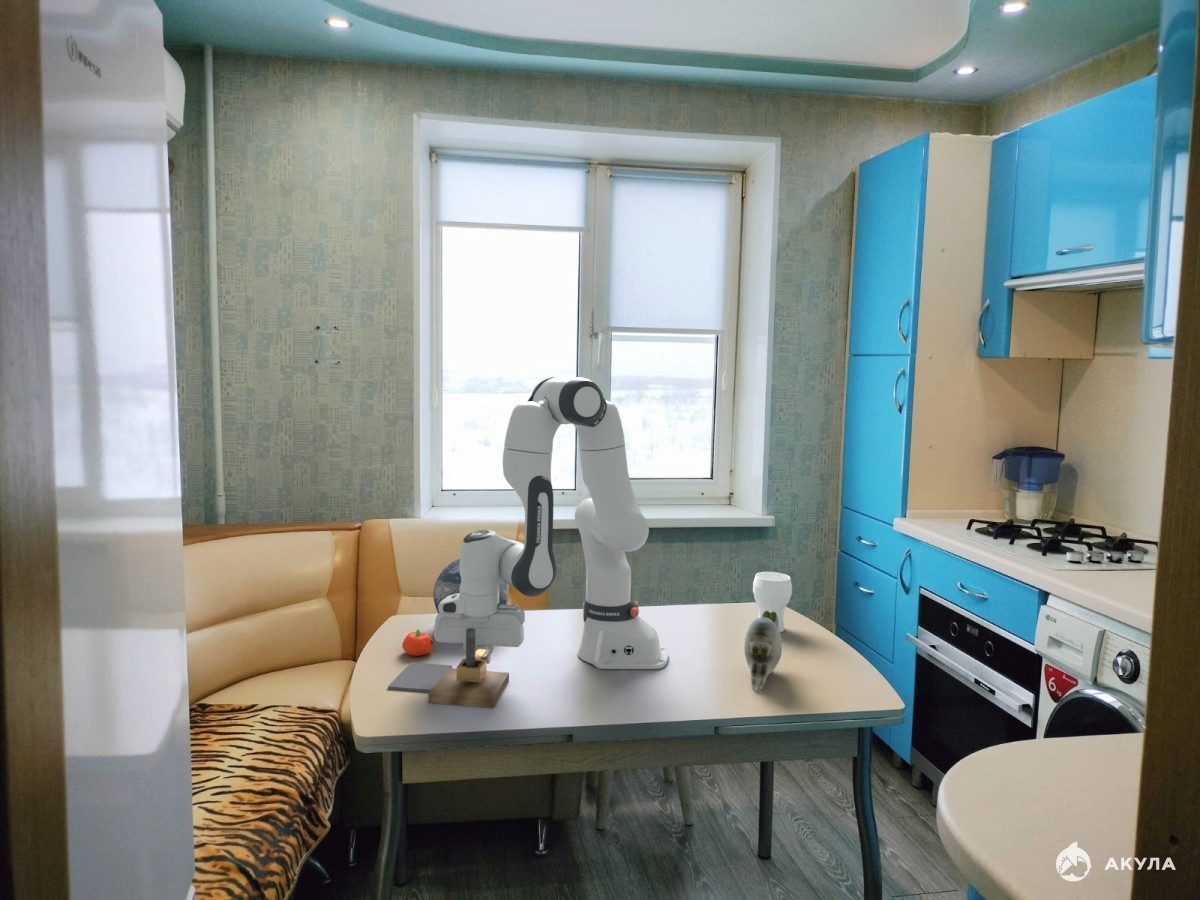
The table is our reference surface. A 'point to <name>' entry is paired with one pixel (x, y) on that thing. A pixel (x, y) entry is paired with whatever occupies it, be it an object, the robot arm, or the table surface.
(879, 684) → the table surface
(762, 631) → the toy
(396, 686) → the mat
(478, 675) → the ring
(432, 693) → the stand
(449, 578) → the decorative ball
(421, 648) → the pumpkin
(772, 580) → the cup
